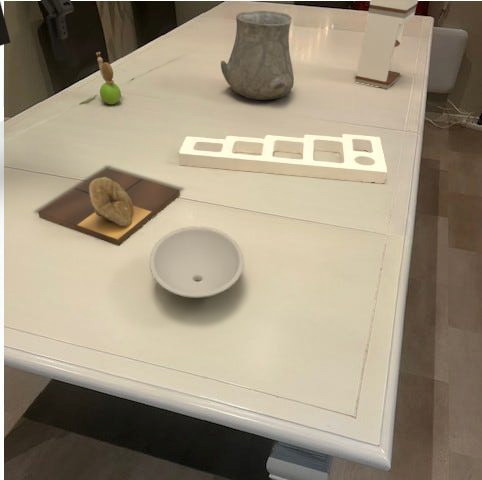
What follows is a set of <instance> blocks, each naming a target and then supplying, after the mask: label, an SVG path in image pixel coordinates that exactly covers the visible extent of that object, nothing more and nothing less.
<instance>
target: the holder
mask: <svg viewBox="0 0 482 480" xmlns="http://www.w3.org/2000/svg"><path fill="white" fill-rule="evenodd" d="M362 150H366V151H362ZM315 151H316V152H327V153H328V152H329V153H338V154H340V162H334V161H333V162H331V161H321V160H315V159H314V152H315ZM367 151H368V152H367ZM275 152H281V153H282V152H283V153H290V154H291V153H293V154H300V155H301V159H300V158H299V159H298V158H287V157H276V156H274V153H275ZM242 153H243V154H242ZM251 154H252V155H251ZM253 154H255V155H253ZM256 154H257V155H256ZM178 163H179V164H178V165H180V166H187V167H197V168H208V169H217V170H219V169H221V170H230V171H231V170H232V171H242V172H253V173H263V174H264V173H265V174H276V175H283V176H296V177H305V178H306V177H307V178H318V179H327V180H337V181H338V180H340V181H350V182H360V183H371V182H375V183H374V184H382V183H384V184H385V182H386V179H387V175H388V168H387V163H386V159H385V155H384V150H383V146H382V140H381V138H380V137H379V136H372V135H360V134H350V133H349V134H348V133H342V134H341V137H339V136H329V135H328V136H327V135H317V134H316V135H315V134H303V137H293V136H283V135H281V136H280V135H273V134H272V135H271V134H266V135H265V136H264V138H258V137H248V136H236V135H226V136H225V138H224V139H222V138H213V137H212V138H210V137H201V136H200V137H199V136H191V135H190V136H189V135H188V136H185V138H184V141H183V143H182V145H181V147H180V148H179V151H178ZM361 181H362V182H361Z"/></svg>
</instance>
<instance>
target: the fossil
mask: <svg viewBox="0 0 482 480" xmlns="http://www.w3.org/2000/svg"><path fill="white" fill-rule="evenodd" d="M89 193H90V197H91V203H92V205H93V207H94V210H95V213H96V214H97V215H98V216H101V217H103V218H105V219H106V220H110V221H113V222H114V223H116V224H118V225H120V226H129V225H130V224H131V222H132V218H131V214H132V213H133V204H132V201H131V199H130V197H129V196H128V194H127V193H126V192H125V190H124V189H122V188H121V187H120V185H119V184H118V183H116V182H114V181H112V180H111V179H109V178H107V177H103V178H97V179H94V180H93V181H92V182H91V183H90V186H89Z"/></svg>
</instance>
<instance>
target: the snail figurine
mask: <svg viewBox="0 0 482 480" xmlns="http://www.w3.org/2000/svg"><path fill="white" fill-rule="evenodd" d="M95 55H96V56H97V63H98V67H99V68H98V69H99V72H100V74H101V77H102V79H103V80H104V83H103V84H102V85H101V86H100V88H99V95H100V98H101V100H102V101H103V102H104V103H106V104H108V105H115V104H117V103H118V102H119V101H120V99H121V98H122V92H121V91H122V90H121V89H120V87H119V86H118V85H117V84H116V83H115V80H113V79H114V70H113V68H112V65H111V64H110V63H109V62H106V61H105V62H104V61H103V58H102V57H101V51H97V52H96V53H95Z"/></svg>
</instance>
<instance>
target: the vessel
mask: <svg viewBox="0 0 482 480" xmlns="http://www.w3.org/2000/svg"><path fill="white" fill-rule="evenodd" d="M235 20H236V30H235V31H236V32H235V39H234V42H233V47H232V49H231V53H230V57H229V59H228V61H227V62H226V61H225V60H221V61H220V69H221V73H222V75H223V77H224V80H225V81H226V83H227V84H228V85H229V86H230V88H231V89H232V90H233V91H234V92H235V93H237V94H239V95H241V96H243V97H245V98H248V99H251V100H259V101H260V100H261V101H265V100H266V101H267V100H274V99H278V98H281V97H285V96H287V95H288V94H289V93H290V92H291V91H292V89H293V88H294V83H295V78H294V69H293V63H292V59H291V54H290V27H291V25H292V24H291V23H292V17H291V15H289V14H288V13H285V12H281V11H271V10H270V11H269V10H252V11H246V12H245V11H243V12H239V13H237V14H236V18H235Z"/></svg>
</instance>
